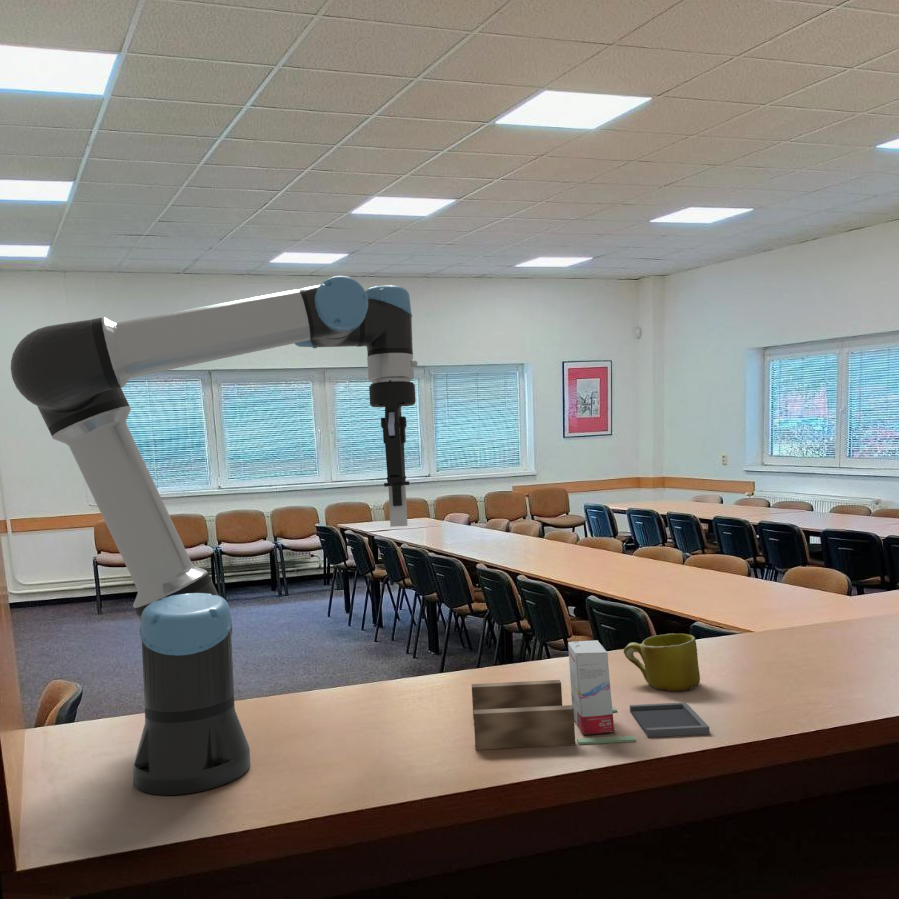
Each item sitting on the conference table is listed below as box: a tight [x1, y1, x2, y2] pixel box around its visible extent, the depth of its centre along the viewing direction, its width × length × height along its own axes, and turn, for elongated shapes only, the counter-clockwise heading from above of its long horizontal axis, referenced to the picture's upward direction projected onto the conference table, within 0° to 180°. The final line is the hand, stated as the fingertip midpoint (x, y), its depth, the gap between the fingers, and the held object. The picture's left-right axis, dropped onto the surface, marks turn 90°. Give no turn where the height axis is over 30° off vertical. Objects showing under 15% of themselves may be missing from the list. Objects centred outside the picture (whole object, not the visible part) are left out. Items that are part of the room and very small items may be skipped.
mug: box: [623, 633, 701, 693], centre depth 139 cm, size 12×10×10 cm
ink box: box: [567, 639, 615, 736], centre depth 120 cm, size 9×5×12 cm, turn 0°
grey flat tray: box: [629, 701, 711, 738], centre depth 120 cm, size 9×12×1 cm
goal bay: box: [576, 706, 637, 745], centre depth 120 cm, size 8×15×1 cm, turn 0°
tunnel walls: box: [471, 679, 576, 751], centre depth 120 cm, size 14×15×5 cm
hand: (399, 525), depth 131 cm, fingers closed
